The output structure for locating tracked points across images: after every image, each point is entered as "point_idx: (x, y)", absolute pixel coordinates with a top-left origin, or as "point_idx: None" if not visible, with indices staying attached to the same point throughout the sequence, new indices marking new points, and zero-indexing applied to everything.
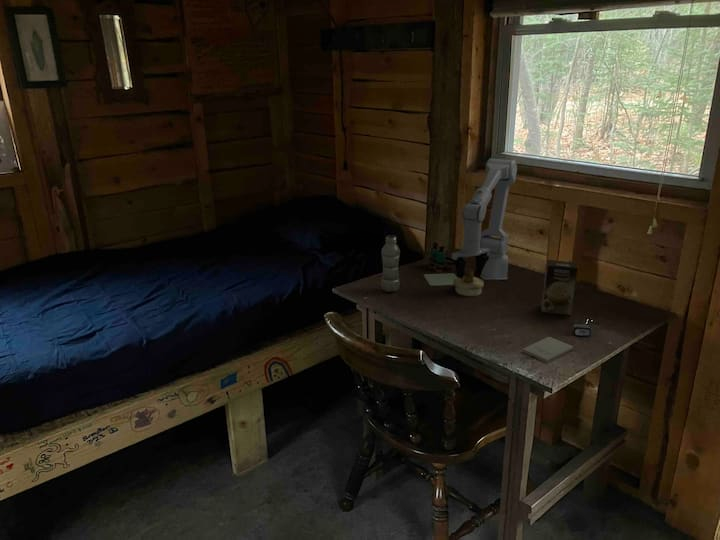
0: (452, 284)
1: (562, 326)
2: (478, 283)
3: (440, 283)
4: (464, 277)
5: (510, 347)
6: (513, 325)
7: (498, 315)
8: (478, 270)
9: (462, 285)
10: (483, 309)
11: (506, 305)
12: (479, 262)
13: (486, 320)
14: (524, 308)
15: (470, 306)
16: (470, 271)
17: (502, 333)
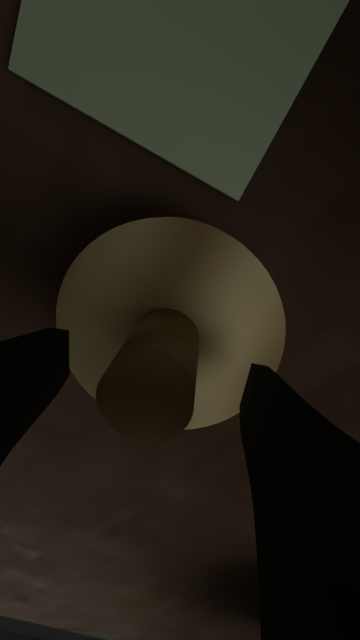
0: (170, 158)
1: (217, 634)
2: (194, 404)
3: (103, 76)
4: (202, 258)
5: (10, 607)
6: (101, 571)
7: (111, 520)
8: (250, 421)
9: (74, 368)
10: (99, 469)
11: (208, 496)
12: (274, 512)
13: (48, 518)
14: (241, 540)
15: (70, 426)
16: (125, 428)
17: (38, 574)
